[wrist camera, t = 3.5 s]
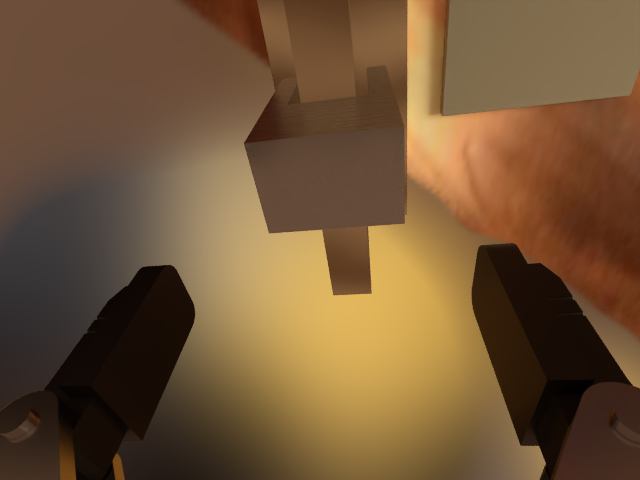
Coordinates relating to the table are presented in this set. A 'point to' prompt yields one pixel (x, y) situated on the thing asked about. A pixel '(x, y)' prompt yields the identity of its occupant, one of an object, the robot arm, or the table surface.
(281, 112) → the bracket
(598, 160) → the table surface
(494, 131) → the table surface
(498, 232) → the table surface
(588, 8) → the tile
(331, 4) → the rail stand
